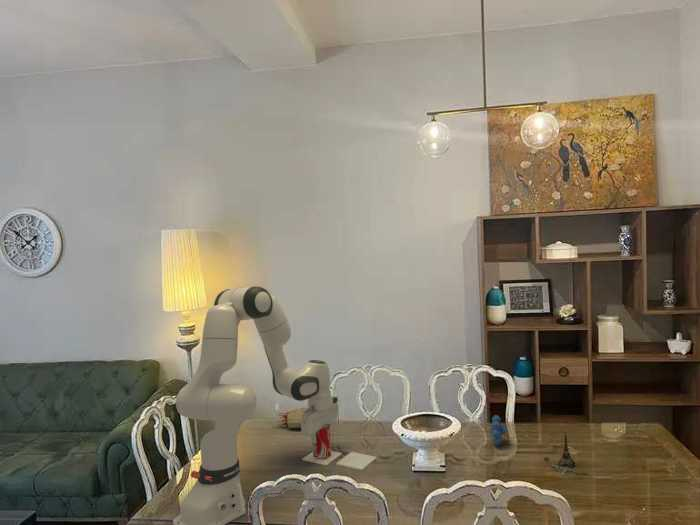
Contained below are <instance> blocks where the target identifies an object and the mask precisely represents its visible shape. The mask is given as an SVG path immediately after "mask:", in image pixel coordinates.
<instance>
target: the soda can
mask: <svg viewBox="0 0 700 525" xmlns="http://www.w3.org/2000/svg"><path fill="white" fill-rule="evenodd" d="M315 436H316V437H317V438H318V442H316V443H312V442H311V444H312V445H311V447H312V452H313V455H314V457H316V458H318V459H325V458H327V457H328V456H330V455H331V451H332V441H331V436H332V435H331V428H329V426H328V424H327V425H326V426H324V427H323V428H321V429H320V430H318V431H316V434H315Z"/></svg>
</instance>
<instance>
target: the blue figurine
mask: <svg viewBox="0 0 700 525" xmlns="http://www.w3.org/2000/svg"><path fill="white" fill-rule="evenodd" d="M501 420H502V419H501V417H500V416H499V415H497V414H495V415H493V416H492V418H491V421H492V423H491V426H492V427H491V428H490V429H489V430H490V432H491V434H492V435H493V436H492V442H493V444H494V445H495V446H500V445H501V443H502V437H503V435H506V434H507V433H508V432H509V430H508V428H507V427H506V426H503V424H502V423H501Z"/></svg>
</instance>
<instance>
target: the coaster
mask: <svg viewBox="0 0 700 525" xmlns="http://www.w3.org/2000/svg"><path fill="white" fill-rule="evenodd" d="M377 458H378V456H373V455H369V454H364V453H360V452H355V451H350V452H349V453H347V455H345V456H344V457H343V458H341V459H340V460H338V461H337V462H336V463H335V465H336V466H340V467H343V468H349V469H353V470H357V471H364V470H365V469H366V468H368V466H370V465H371V464H372V463H374V461H376V460H377Z"/></svg>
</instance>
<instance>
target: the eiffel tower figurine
mask: <svg viewBox="0 0 700 525" xmlns="http://www.w3.org/2000/svg"><path fill="white" fill-rule="evenodd" d="M564 431H565V432H564V434H563V435H564V442H563V444H564V446H563V450H562V452H563V453H562V455H561V457H560V460H559V462H558V463H557V464H554V463H550V462H549V461H550V460H551V459H550V458H549V457H547V456H546V457H545V456H543V457H542V459H543V460H544V461H545V462H546V463H547V464H548V465H549V466H551V467H552V469H553V470H554V471H555V472H557V473H558V474H563V475H565V476H566V475H568V476H570V475H571V476H572V475H576V476H580V475H588V474H590V473H589V472H588V471H587V472H583V471H582V472H581V471H576V472H575V471H573V470H574V469H575V468H576V467H577V466H578V464H577V463H576V462H575V461H574V460H573V458H572V456H571V454H570V450H569V448H568V439H567V432H566V428H565V430H564Z"/></svg>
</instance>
